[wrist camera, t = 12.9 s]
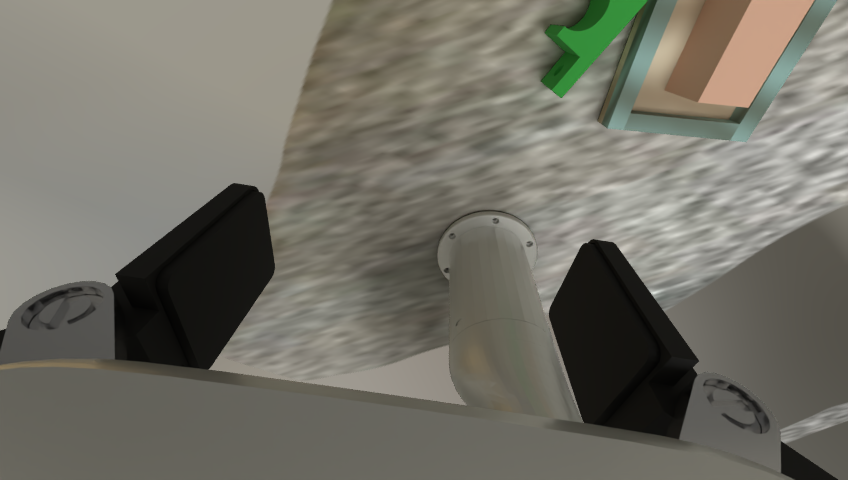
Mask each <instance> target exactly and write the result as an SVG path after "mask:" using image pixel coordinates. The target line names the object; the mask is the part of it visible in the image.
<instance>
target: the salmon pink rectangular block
mask: <svg viewBox="0 0 848 480" xmlns="http://www.w3.org/2000/svg"><path fill="white" fill-rule="evenodd" d="M813 2H814V0H706V1H705V3H704V5H703V8H702V10H701V12H700V14H699V16H698V18H697V21H696V23H695V25H694V27H693V29H692V31H691V34H690V36H689V38H688V40H687V42H686V44H685V47H684V49H683V51H682V53H681V55H680V57H679V59H678V62H677V64H676V66H675V68H674V70H673V72H672V75H671V77H670V79H669V81H668V83H667V85H666V88H665V91H667V92H670V93H673V94H676V95H679V96H681V97H684V98H687V99H690V100H692V101H695V102H698V103H707V104H717V105H727V106H736V107H746V108H748V107H749V106H750V104H751V103H752V101H753V99H754V98H755V96H756V94H757V93H758V91H759V90H760V88H761V86H762V85H763V83H764V81H765V80H766V78H767V77H768V75H769V73H770V72H771V70H772V68H773V67H774V65H775V63H776V62H777V60H778V59H779V57H780V55H781V54H782V52H783V50H784V49H785V47H786V46H787V44H788V42H789V41H790V39H791V37H792V36H793V34H794V33H795V31H796V29H797V28H798V26H799V24H800V23H801V21H802V20H803V18H804V16H805V15H806V13H807V11H808V10H809V8H810V7H811V5H812V3H813Z"/></svg>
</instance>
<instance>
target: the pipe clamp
mask: <svg viewBox="0 0 848 480" xmlns="http://www.w3.org/2000/svg"><path fill="white" fill-rule="evenodd" d="M647 1H648V0H590V4H589V8H588V10H587V12H586V14H585V15H584V17H583V18H582V19H581V20H580V21H579V22H578V23H577V24H576V25H574V26H572V27H570V28H566V27H565V26H558V25H550V26H549V28H548V29H547V30H546V32H545V34H546V35H547V36H548V37H550V38H551V39H552V40H553V41H554V42H555V43H556V44H557V45H558V46H559V47H560V48H561V49H562V50H564V51H565V53H564V54H563V55H562V56H561V58H560V59H559V60H558V61H557V63H556V64H555V65H554V66H553V67H552V69H551V70H550V71H549V72H548V73H547V75H546V76H545V77H544V78H543V79H542V81H541V82H542V83H543V84H544V85H546V86H547V87H548V88H549V89H550V90H552V91H553V92H554V93H555V94H557V95H558V96H559V97H561V98H562V97H563V96H564V95H565V94H566V92H567V91H568V90H569V89H570V88H571V87H572V86H573V85H574V83H575V82H576V81H577V80H578V79H579V78H580V77H581V76H582V74H583V73H584V72H585V71H586V70H587V69H588V68H589V66H590V65H591V64H592V63H593V62H594V61H595V60H596V59H597V57H598V56H599V55H600V54H601V53H602V52H603V51H604V50H605V48H606V47H607V46H608V45H609V44H610V43H611V42H612V41H613V39H614V38H615V37H616V36H617V35H618V34H619V33H620V32H621V30H622V29H623V28H624V27H625V26H626V25H627V24H628V23H629V21H630V20H631V19H632V18H633V17H634V16H635V15H636V14H637V12H638V11H639V10H640V9H641V8H642V7H643V6H644V5H645V3H646V2H647Z"/></svg>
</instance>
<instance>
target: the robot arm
mask: <svg viewBox="0 0 848 480" xmlns="http://www.w3.org/2000/svg"><path fill="white" fill-rule="evenodd" d="M494 218H495V219H494ZM452 233H453V234H452ZM437 258H438V264H439V267H440V270H441V272H442V273H443V275H444V276H445V277H446V278H447V279H448V280H449V368H450V374H451V378H452V381H453V383H454V386H455V388H456V390H457V392H458V394H459V395H460V397H461V398H462V400H463V401H464V402H465V403H466V405H467V406H465V405H458V404H451V403H444V402H437V401H430V400H423V399H416V398H409V397H403V396H395V395H388V394H381V393H374V392H367V391H360V390H353V389H346V388H339V387H331V386H324V385H317V384H309V383H303V382H295V381H288V380H281V379H273V378H265V377H259V376H252V375H243V374H237V373H230V372H222V371H214V370H208V369H209V368H210V367H211V366H212V365H213V363H214V362H215V360H216V359H217V357H218V356H219V354H220V353H221V351H222V350H223V348H224V347H225V345H226V344H227V343H228V341H229V340H230V338H231V337H232V335H233V334H234V332H235V331H236V329H237V328H238V326H239V325H240V323H241V322H242V320H243V319H244V317H245V316H246V315H247V313H248V312H249V310H250V309H251V307H252V306H253V304H254V303H255V301H256V300H257V298H258V297H259V295H260V294H261V292H262V291H263V290H264V288H265V287H266V285H267V284H268V282H269V281H270V279H271V278H272V276H273V274H274V270H275V263H274V256H273V249H272V243H271V236H270V230H269V223H268V216H267V210H266V203H265V198H264V195H263V193H261V192H259V191H258V189H257V188H256V187H255V186H249V185H242V184H236V183H233V184H231V185H230V186H228V187H227V188H226V189H225V190H223V191H222V192H221V193H219V194H218V195H217V196H215V197H214V198H213V199H212V200H210V201H209V202H208V203H206V204H205V205H204V206H203V207H201V208H200V209H199V210H197V211H196V212H195V213H194V214H192V215H191V216H190V217H188V218H187V219H186V220H185V221H183V222H182V223H181V224H179V225H178V226H177V227H175V228H174V229H173V230H172V231H170V232H169V233H168V234H166V235H165V236H164V237H163V238H161V239H160V240H159V241H157V242H156V243H155V244H153V245H152V246H151V247H150V248H148V249H147V250H146V251H144V252H143V253H142V254H141V255H139V256H138V257H137V258H135V259H134V260H133V261H132V262H130V263H129V264H128V265H126V266H125V267H124V268H122V269H121V270H120V271H119V272H118V273H116V274H115V275H116V277H117V279H118V282H117V283H116V284H114V285H113V286H112V287H109V286H108V285H106V284H105V283H100V282H96V281H82V282H75V283H69V284H65V285H61V286H58V287H55V288H51V289H49V290H47V291H45V292H42V293H40V294H38V295H36V296H34V297H32V298H31V299H29V300H28V301H26V302H24V303H23V304H22V305H21V306H20V307H19V308H17V309H16V310H15V311H14V312H13V314H12V315H11V317H10V319H9V321H8V325H7V328H6V329H4V330H1V331H0V480H838V479H836V478H835V477H833V476H832V475H830V474H829V473H827V472H826V471H824V470H823V469H821V468H820V467H818V466H817V465H816V464H814V463H813V462H811V461H810V460H808V459H807V458H805V457H804V456H802V455H801V454H799V453H798V452H796V451H795V450H793V449H792V448H790V447H789V446H787V445H786V444H784V443H783V442H781V432H780V428H779V424H778V422H777V420H776V418H775V417H774V415H773V413H772V412H771V411H770V409H769V408H768V407H767V406H766V405H765V404H764V403H763V401H762V400H760V399H759V398H758V397H757V396H756V395H754V394H753V393H752V392H751V391H750V390H748V389H747V388H745V387H744V386H742V385H741V384H739V383H738V382H736V381H734V380H732V379H730V378H728V377H726V376H723V375H720V374H717V373H709V372H704V373H701V374H698V375H697V373H696V372H695V370H694V369H693V367H694V366H695V364H697V363H698V362H699V360H698V359H697V357H696V356H695V354H694V353H693V352H692V350H691V349H690V348H689V346H688V345H687V343H686V342H685V341H684V339H683V338H682V336H681V335H680V334H679V332H678V331H677V329H676V328H675V327H674V325H673V324H672V322H671V321H670V320H669V318H668V317H667V315H666V314H665V313H664V311H663V310H662V308H661V307H660V306H659V304H658V303H657V301H656V300H655V299H654V297H653V296H652V294H651V293H650V292H649V290H648V289H647V287H646V286H645V285H644V283H643V282H642V281H641V279H640V278H639V276H638V275H637V274H636V272H635V271H634V269H633V268H632V267H631V265H630V264H629V262H628V261H627V260H626V258H625V257H624V255H623V254H622V253H621V251H620V250H619V248H618V247H617V246H616V244H615V243H613V242H607V241H601V240H594V239H593V240H590V241H589V242H588V243H584V244H583V245H582V246H581V248H580V250H579V252H578V254H577V256H576V258H575V259H574V261H573V263H572V265H571V267H570V269H569V271H568V273H567V275H566V277H565V279H564V281H563V283H562V285H561V287H560V289H559V291H558V293H557V295H556V297H555V299H554V301H553V303H552V305H551V307H550V310H549V318H550V321H551V324H552V328H553V331H554V334H555V337H556V340H557V343H558V346H559V349H560V352H561V355H562V358H563V361H564V365H565V367H566V371H567V373H568V377H569V380H570V383H571V386H572V389H573V392H574V395H575V398H576V401H577V405H578V408H579V411H580V414H581V416H580V414H579V412H578V410H577V407H576V405H575V403H574V400H573V398H572V395H571V392H570V390H569V387H568V384H567V382H566V379H565V376H564V373H563V370H562V367H561V364H560V361H559V358H558V355H557V352H556V348H555V345H554V342H553V339H552V335H551V332H550V329H549V326H548V323H547V320H546V316H545V313H544V310H543V307H542V304H541V300H540V297H539V294H538V291H537V288H536V284H535V281H534V278H533V275H532V272H531V271H532V269H533V267H534V265H535V263H536V259H537V245H536V241H535V238H534V236H533V234H532V232H531V230H530V229H529V228H528V226H527V225H525V224H524V223H523V222H522V221H521V220H519V219H517V218H516V217H514V216H512V215H509V214H506V213H502V212H495V211H485V212H478V213H473V214H470V215H467V216H465V217H463V218H461V219H459V220H457V221H456V222H454V223H453V224H452V225H451V226H450V227H449V228H448V229H447V230H446V231H445V232H444V234H443V235H442V237H441V239H440V242H439V246H438V254H437ZM581 417H582V419H581ZM582 420H583V421H582ZM583 422H584V423H583Z"/></svg>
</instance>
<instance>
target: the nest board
mask: <svg viewBox="0 0 848 480" xmlns="http://www.w3.org/2000/svg"><path fill="white" fill-rule="evenodd" d="M705 1H706V0H648V1H647V2H646V3H645V5H644V6H643V7H642V8H641V9H640V10H639V11H638V13H637V16H636V19H635V21H634V24H633V27H632V29H631V32H630V35H629V38H628V40H627V43H626V46H625V48H624V51H623V54H622V57H621V59H620V62H619V65H618V67H617V70H616V73H615V76H614V78H613V81H612V84H611V86H610V89H609V92H608V94H607V97H606V100H605V103H604V105H603V108H602V111H601V113H600V116H599V119H598V122H599V123H601V124H602V125H604V126H605V127H606V128H609V129H619V130H629V131H640V132H650V133H660V134H670V135H680V136H690V137H700V138H710V139H721V140H731V141H741V142H747V140H748V138H749V137H750V135H751V134H752V132H753V131H754V129H755V128H756V126H757V124H758V123H759V121H760V120H761V118H762V117H763V115H764V113H765V112H766V110H767V109H768V107H769V106H770V104H771V103H772V101H773V99H774V98H775V96H776V95H777V93H778V92H779V90H780V89H781V87H782V85H783V84H784V82H785V81H786V79H787V78H788V76H789V75H790V73H791V71H792V70H793V68H794V67H795V65H796V64H797V62H798V61H799V59H800V57H801V56H802V54H803V53H804V51H805V50H806V48H807V46H808V45H809V43H810V42H811V40H812V39H813V37H814V36H815V34H816V32H817V31H818V29H819V28H820V26H821V25H822V23H823V22H824V20H825V18H826V17H827V15H828V14H829V12H830V11H831V9H832V8H833V6H834V4H835V3H836V1H837V0H814V2H813V3H812V5H811V7H810V8H809V10H808V11H807V13H806V15H805V16H804V18H803V20H802V21H801V23H800V24H799V26H798V28H797V29H796V31H795V33H794V34H793V36H792V37H791V39H790V41H789V42H788V44H787V46H786V47H785V49H784V50H783V52H782V54H781V55H780V57H779V59H778V60H777V62H776V63H775V65H774V67H773V68H772V70H771V72H770V73H769V75H768V77H767V78H766V80H765V81H764V83H763V85H762V86H761V88H760V90H759V91H758V93H757V94H756V96H755V98H754V99H753V101H752V103H751V104H750V106H749V107H748V108H746V107H736V106H727V105H717V104H707V103H698V102H695V101H692V100H690V99H687V98H684V97H681V96H679V95H676V94H673V93H670V92H667V91H665V88H666V85H667V83H668V81H669V79H670V77H671V75H672V72H673V70H674V68H675V66H676V64H677V62H678V59H679V57H680V55H681V53H682V51H683V49H684V47H685V44H686V42H687V40H688V38H689V36H690V34H691V31H692V29H693V27H694V25H695V23H696V21H697V18H698V16H699V14H700V12H701V10H702V8H703V5H704V3H705Z"/></svg>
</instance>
